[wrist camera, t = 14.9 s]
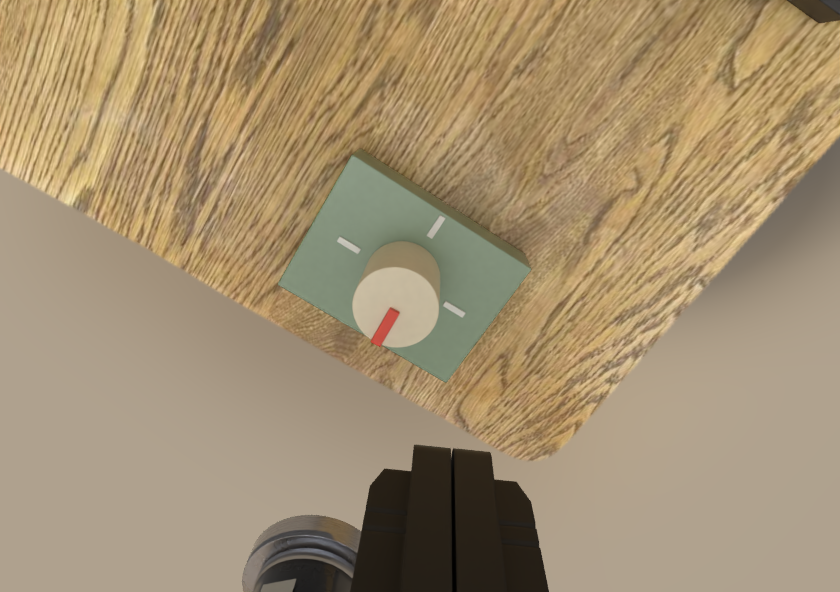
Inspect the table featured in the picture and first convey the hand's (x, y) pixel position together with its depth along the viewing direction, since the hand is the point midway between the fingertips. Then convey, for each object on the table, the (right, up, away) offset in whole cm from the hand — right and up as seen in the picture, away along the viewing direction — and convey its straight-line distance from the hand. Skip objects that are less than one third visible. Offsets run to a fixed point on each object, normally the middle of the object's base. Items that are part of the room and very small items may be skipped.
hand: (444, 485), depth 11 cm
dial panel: (-1, +6, +25) cm, 25 cm away
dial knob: (-1, +5, +22) cm, 22 cm away
